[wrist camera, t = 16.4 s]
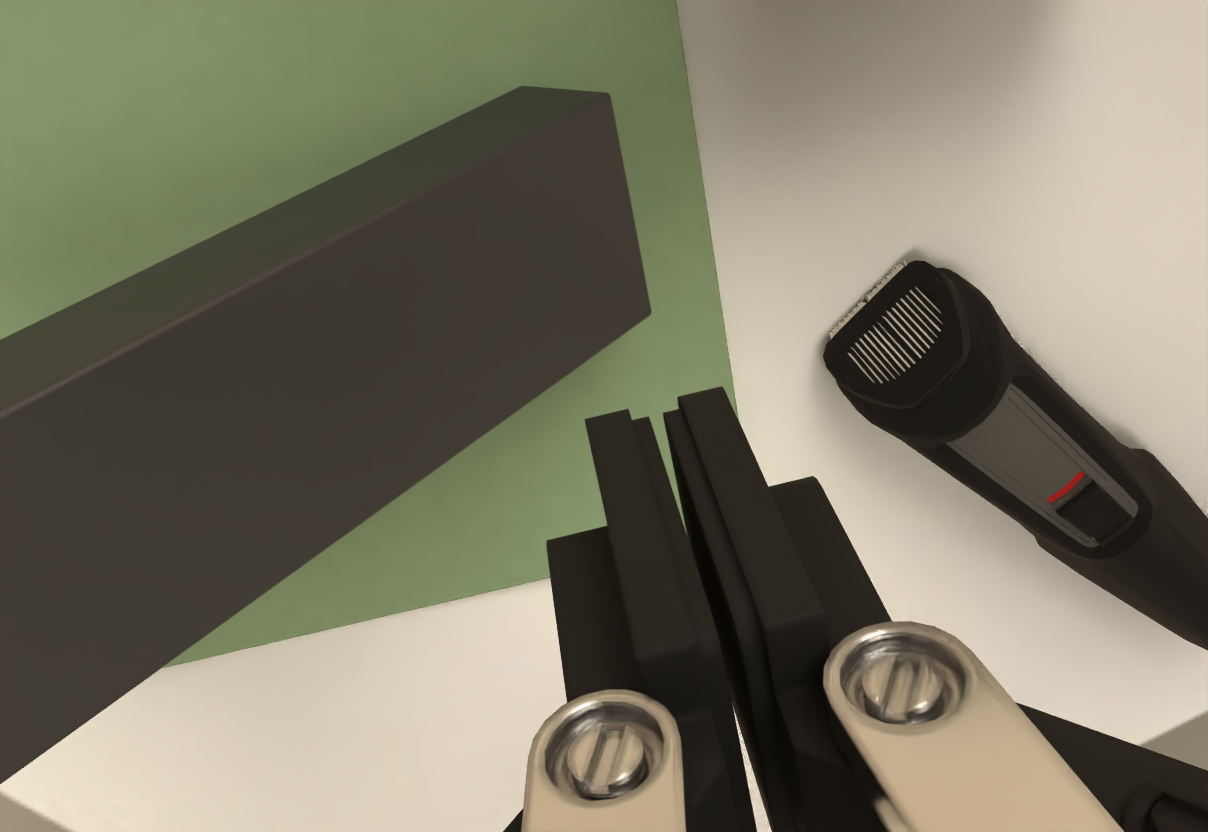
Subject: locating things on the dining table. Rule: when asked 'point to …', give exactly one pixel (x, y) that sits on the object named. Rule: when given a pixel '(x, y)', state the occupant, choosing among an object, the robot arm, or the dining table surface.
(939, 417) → the electric trimmer
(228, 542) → the dark grey rectangular brick
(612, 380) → the mat
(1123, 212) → the dining table surface
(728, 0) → the dining table surface
